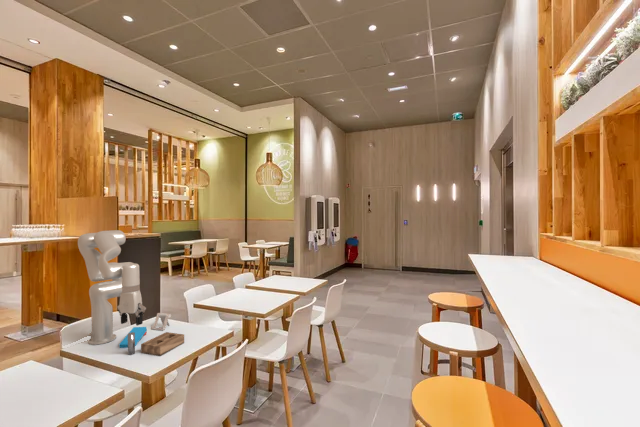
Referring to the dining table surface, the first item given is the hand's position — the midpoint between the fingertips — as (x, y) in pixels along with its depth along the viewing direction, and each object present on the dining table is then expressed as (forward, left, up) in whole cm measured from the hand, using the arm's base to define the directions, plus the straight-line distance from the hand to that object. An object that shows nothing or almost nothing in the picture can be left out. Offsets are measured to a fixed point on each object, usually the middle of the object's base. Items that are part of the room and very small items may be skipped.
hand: (131, 323), depth 152 cm
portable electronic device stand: (-14, +32, -15) cm, 38 cm away
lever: (-12, +13, -16) cm, 24 cm away
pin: (-1, 0, -15) cm, 15 cm away
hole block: (+9, +10, -15) cm, 20 cm away
